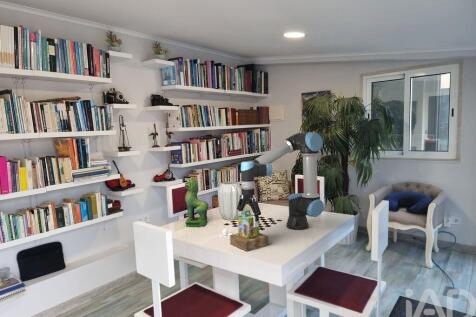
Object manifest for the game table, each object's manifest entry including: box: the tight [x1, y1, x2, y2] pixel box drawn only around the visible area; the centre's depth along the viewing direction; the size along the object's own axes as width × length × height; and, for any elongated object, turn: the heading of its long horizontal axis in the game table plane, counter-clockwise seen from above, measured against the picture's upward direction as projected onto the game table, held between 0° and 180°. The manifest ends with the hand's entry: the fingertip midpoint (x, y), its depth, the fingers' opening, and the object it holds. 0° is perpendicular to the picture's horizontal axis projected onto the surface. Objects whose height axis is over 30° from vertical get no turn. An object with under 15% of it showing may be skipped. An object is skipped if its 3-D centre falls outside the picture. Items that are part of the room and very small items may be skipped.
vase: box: [217, 181, 242, 221], centre depth 256 cm, size 20×20×27 cm
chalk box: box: [237, 209, 260, 239], centre depth 194 cm, size 9×9×15 cm
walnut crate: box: [229, 232, 270, 253], centre depth 196 cm, size 16×16×6 cm
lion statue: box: [184, 176, 209, 228], centre depth 240 cm, size 14×17×35 cm
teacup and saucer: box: [218, 228, 233, 238], centre depth 214 cm, size 9×8×4 cm
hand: (248, 224), depth 195 cm, fingers open, 13 cm apart
